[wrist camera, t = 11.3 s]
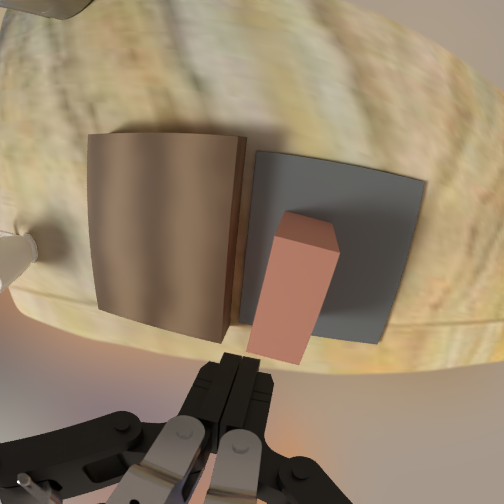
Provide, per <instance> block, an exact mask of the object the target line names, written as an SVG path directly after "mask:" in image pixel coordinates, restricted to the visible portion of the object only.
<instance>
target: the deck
mask: <svg viewBox="0 0 504 504" xmlns="http://www.w3.org/2000/svg"><path fill="white" fill-rule="evenodd" d="M246 141H247V138H246V137H239V136H227V135H212V134H192V133H110V134H91V135H88V151H87V201H88V222H89V237H90V248H91V258H92V267H93V275H94V282H95V289H96V296H97V302H98V308H99V309H100V310H102V311H105V312H108V313H111V314H115V315H118V316H121V317H124V318H127V319H130V320H134V321H137V322H140V323H144V324H147V325H150V326H154V327H157V328H161V329H164V330H168V331H172V332H176V333H179V334H183V335H187V336H191V337H195V338H199V339H203V340H207V341H211V342H216V343H220V344H221V343H222V341H223V339H224V336H225V334H226V332H227V330H228V328H229V323H230V311H231V299H232V287H233V275H234V264H235V253H236V242H237V231H238V220H239V210H240V200H241V190H242V180H243V170H244V160H245V150H246Z"/></svg>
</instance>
